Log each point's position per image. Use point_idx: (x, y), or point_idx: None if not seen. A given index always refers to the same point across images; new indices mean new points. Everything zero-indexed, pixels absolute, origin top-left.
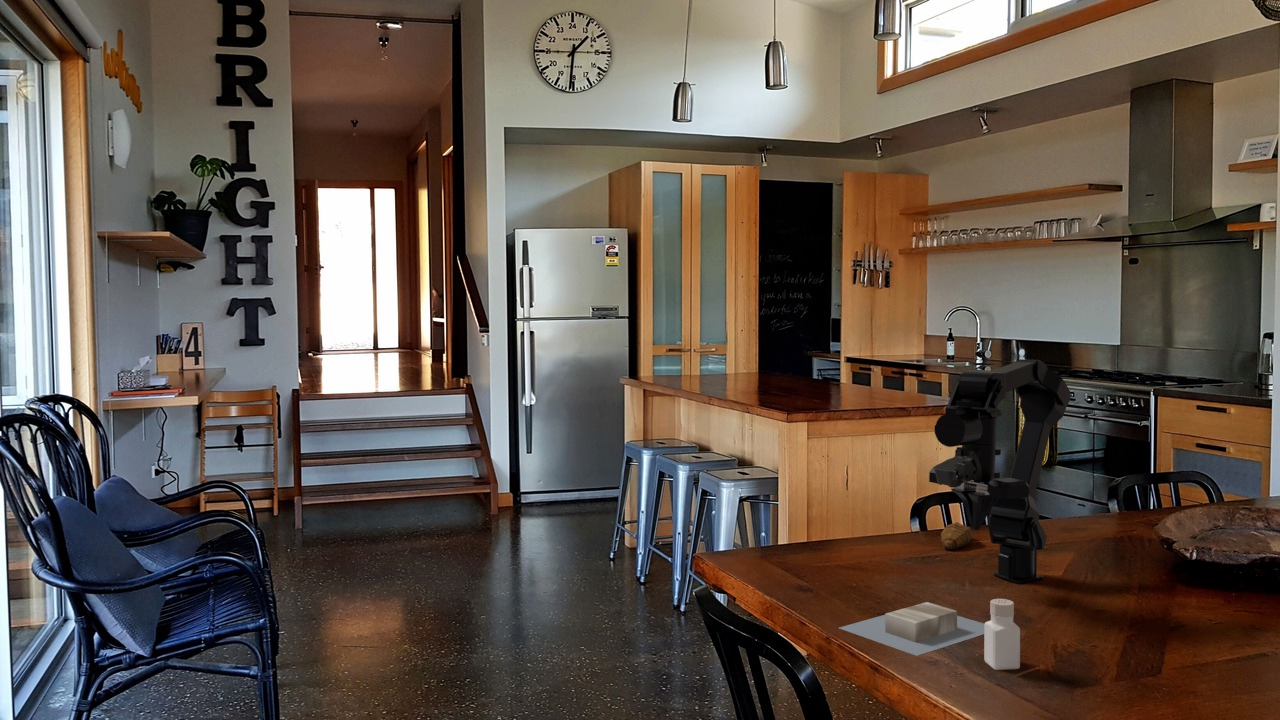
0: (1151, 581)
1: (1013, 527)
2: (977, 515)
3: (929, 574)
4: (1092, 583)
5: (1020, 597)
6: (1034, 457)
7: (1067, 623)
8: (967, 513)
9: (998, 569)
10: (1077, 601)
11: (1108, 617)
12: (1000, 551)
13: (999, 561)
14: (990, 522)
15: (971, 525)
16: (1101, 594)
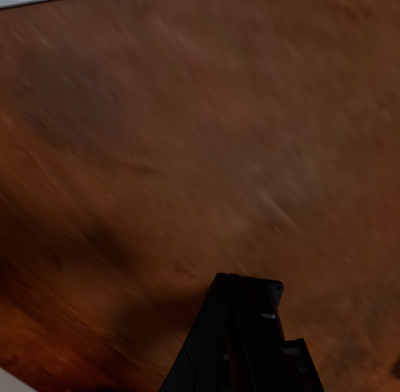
0: (139, 379)
1: (231, 388)
2: (188, 337)
3: (382, 205)
4: (166, 340)
5: (163, 225)
6: None
7: (8, 175)
8: (269, 338)
9: (267, 288)
10: (107, 272)
11: (24, 247)
12: (275, 324)
13: (268, 302)
14: (306, 388)
15: (236, 284)
16: (121, 314)
